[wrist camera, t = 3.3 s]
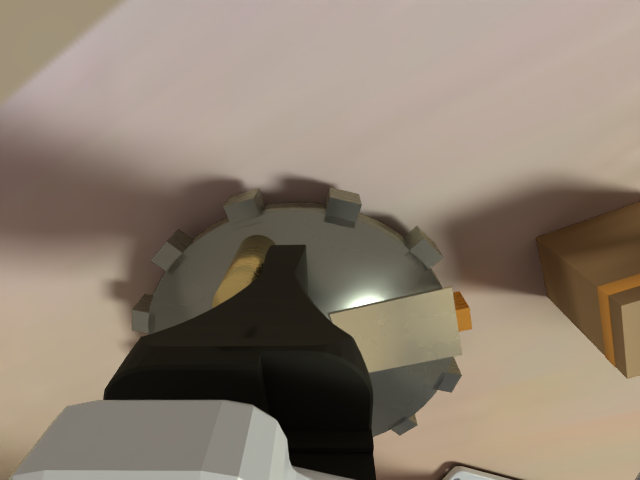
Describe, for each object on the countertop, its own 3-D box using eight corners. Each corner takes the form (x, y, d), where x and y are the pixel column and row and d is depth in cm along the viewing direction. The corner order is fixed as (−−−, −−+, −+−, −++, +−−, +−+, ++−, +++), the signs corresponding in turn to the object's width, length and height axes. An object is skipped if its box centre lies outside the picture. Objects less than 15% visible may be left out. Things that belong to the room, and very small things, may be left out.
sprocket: (222, 453, 21) (195, 547, 17) (79, 239, 15) (-19, 305, 11) (475, 410, 19) (517, 506, 15) (438, 137, 13) (493, 170, 8)
